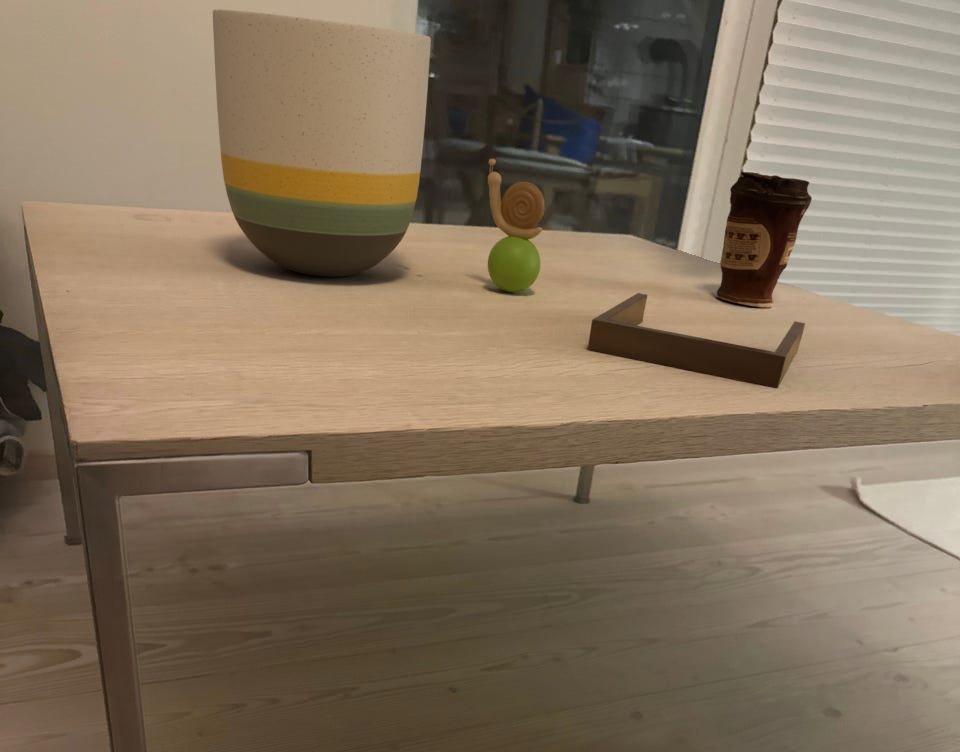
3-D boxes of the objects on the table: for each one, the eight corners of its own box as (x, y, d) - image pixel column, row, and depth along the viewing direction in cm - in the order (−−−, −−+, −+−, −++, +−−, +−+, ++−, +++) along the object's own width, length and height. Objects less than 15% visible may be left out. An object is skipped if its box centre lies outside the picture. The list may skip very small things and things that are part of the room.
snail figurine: (485, 282, 99) (498, 157, 93) (542, 292, 98) (559, 166, 91) (468, 289, 95) (480, 159, 88) (528, 300, 93) (544, 168, 87)
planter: (298, 247, 106) (298, 24, 95) (448, 277, 99) (467, 42, 88) (180, 265, 90) (164, 2, 79) (349, 303, 84) (357, 22, 73)
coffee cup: (747, 312, 100) (779, 179, 93) (690, 295, 105) (717, 168, 98) (796, 309, 104) (830, 182, 98) (739, 292, 110) (768, 171, 103)
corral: (632, 319, 91) (637, 292, 89) (797, 350, 86) (805, 323, 85) (587, 349, 78) (592, 319, 77) (777, 388, 74) (786, 356, 72)
